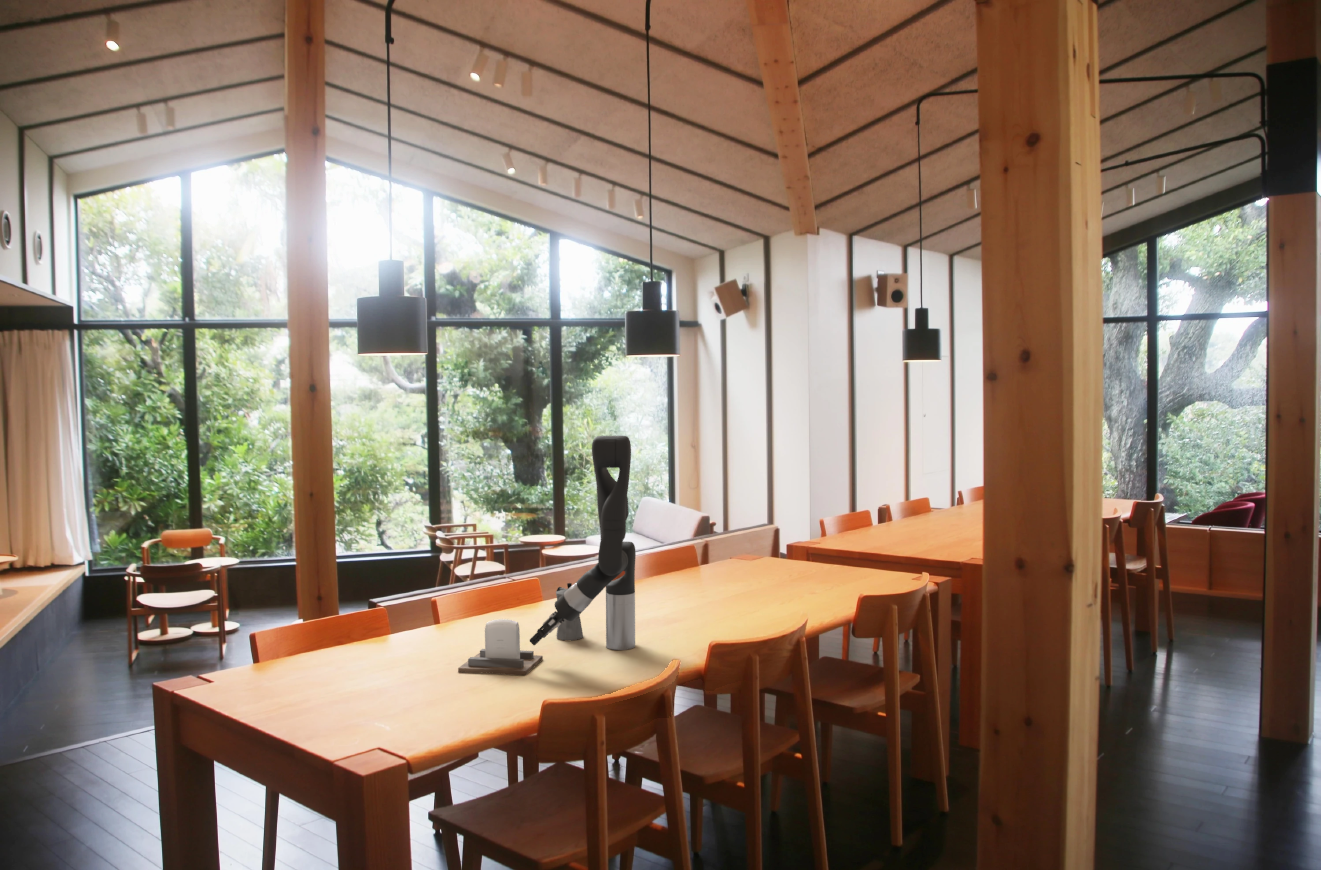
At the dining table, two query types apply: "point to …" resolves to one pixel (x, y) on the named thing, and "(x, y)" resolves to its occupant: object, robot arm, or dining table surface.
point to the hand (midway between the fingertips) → (536, 639)
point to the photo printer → (502, 639)
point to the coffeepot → (568, 623)
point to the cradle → (501, 664)
